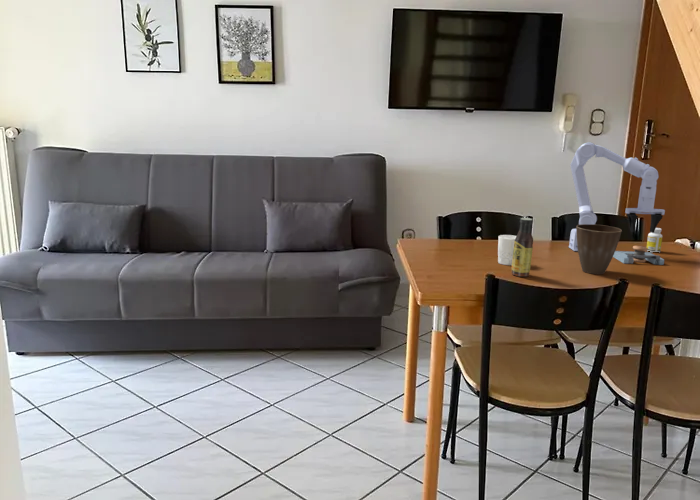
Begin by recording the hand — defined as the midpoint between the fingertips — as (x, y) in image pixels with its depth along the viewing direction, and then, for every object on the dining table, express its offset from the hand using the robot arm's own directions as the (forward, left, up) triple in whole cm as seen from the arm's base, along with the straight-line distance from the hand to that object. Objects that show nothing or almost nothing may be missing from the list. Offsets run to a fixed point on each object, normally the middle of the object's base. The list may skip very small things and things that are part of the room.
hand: (642, 231), depth 243 cm
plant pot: (-28, -29, -10) cm, 42 cm away
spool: (-4, -9, -10) cm, 14 cm away
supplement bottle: (+10, +10, -10) cm, 17 cm away
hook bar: (-4, -13, -10) cm, 17 cm away
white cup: (-57, -21, -10) cm, 62 cm away
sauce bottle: (-56, -38, -10) cm, 68 cm away
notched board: (-4, -7, -10) cm, 13 cm away
